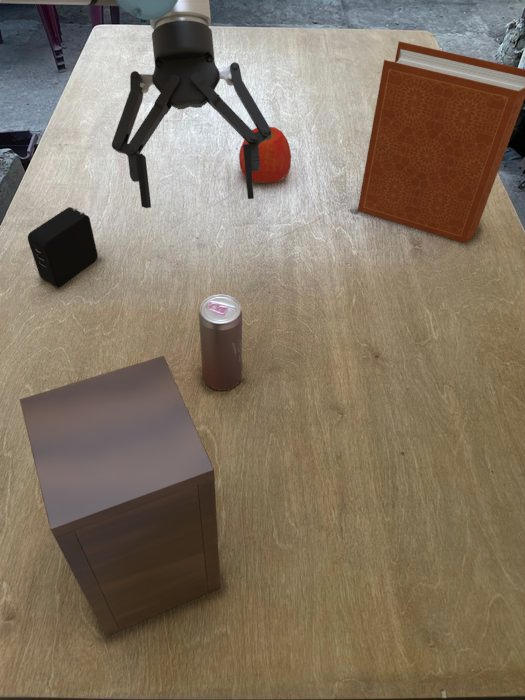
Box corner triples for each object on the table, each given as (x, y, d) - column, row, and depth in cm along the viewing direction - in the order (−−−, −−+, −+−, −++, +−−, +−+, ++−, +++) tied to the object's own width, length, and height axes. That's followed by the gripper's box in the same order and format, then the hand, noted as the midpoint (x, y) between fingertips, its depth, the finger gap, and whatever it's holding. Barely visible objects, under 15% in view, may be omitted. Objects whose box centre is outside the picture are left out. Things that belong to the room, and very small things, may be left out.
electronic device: (40, 279, 109) (25, 234, 101) (82, 250, 114) (71, 204, 107) (57, 289, 107) (43, 244, 100) (98, 259, 113) (89, 213, 105)
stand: (77, 529, 79) (19, 398, 58) (182, 490, 83) (163, 355, 62) (106, 636, 71) (50, 529, 50) (220, 587, 75) (214, 469, 54)
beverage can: (214, 356, 99) (211, 287, 87) (248, 370, 97) (249, 301, 86) (195, 383, 95) (190, 314, 84) (230, 397, 93) (229, 330, 82)
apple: (250, 195, 127) (251, 148, 119) (230, 167, 133) (230, 121, 125) (298, 184, 130) (302, 137, 122) (276, 157, 136) (278, 111, 128)
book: (357, 210, 125) (384, 60, 102) (370, 189, 130) (399, 41, 107) (470, 245, 119) (525, 93, 96) (480, 221, 124) (534, 71, 101)
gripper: (280, 30, 81) (292, 196, 84) (90, 48, 82) (110, 212, 85) (282, 8, 74) (295, 191, 77) (73, 27, 74) (95, 208, 77)
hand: (198, 202), depth 81 cm, fingers open, 13 cm apart
